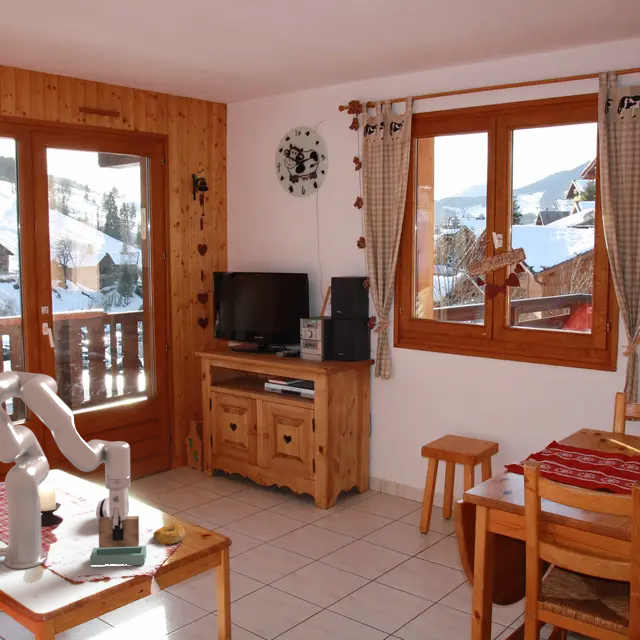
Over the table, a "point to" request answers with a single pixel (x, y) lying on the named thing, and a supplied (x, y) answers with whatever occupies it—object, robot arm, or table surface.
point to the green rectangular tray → (118, 555)
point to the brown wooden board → (129, 532)
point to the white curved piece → (103, 508)
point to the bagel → (169, 534)
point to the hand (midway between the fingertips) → (118, 537)
